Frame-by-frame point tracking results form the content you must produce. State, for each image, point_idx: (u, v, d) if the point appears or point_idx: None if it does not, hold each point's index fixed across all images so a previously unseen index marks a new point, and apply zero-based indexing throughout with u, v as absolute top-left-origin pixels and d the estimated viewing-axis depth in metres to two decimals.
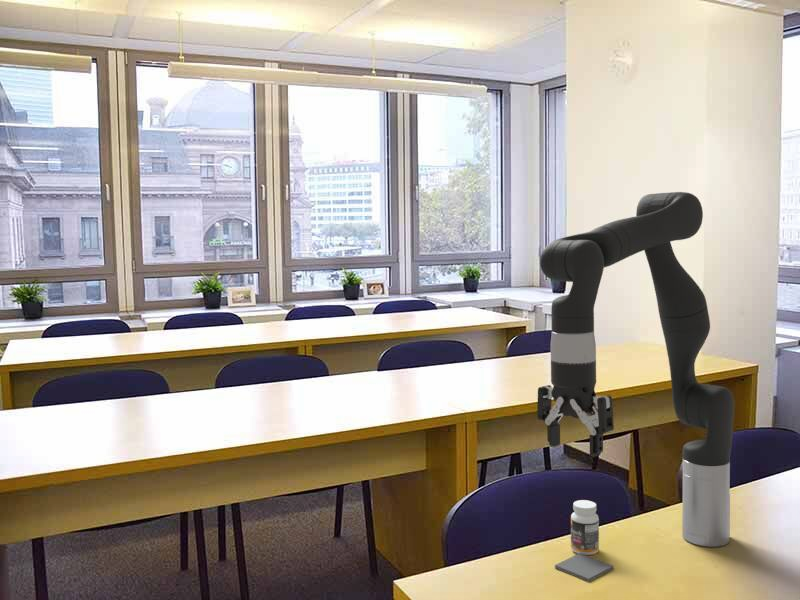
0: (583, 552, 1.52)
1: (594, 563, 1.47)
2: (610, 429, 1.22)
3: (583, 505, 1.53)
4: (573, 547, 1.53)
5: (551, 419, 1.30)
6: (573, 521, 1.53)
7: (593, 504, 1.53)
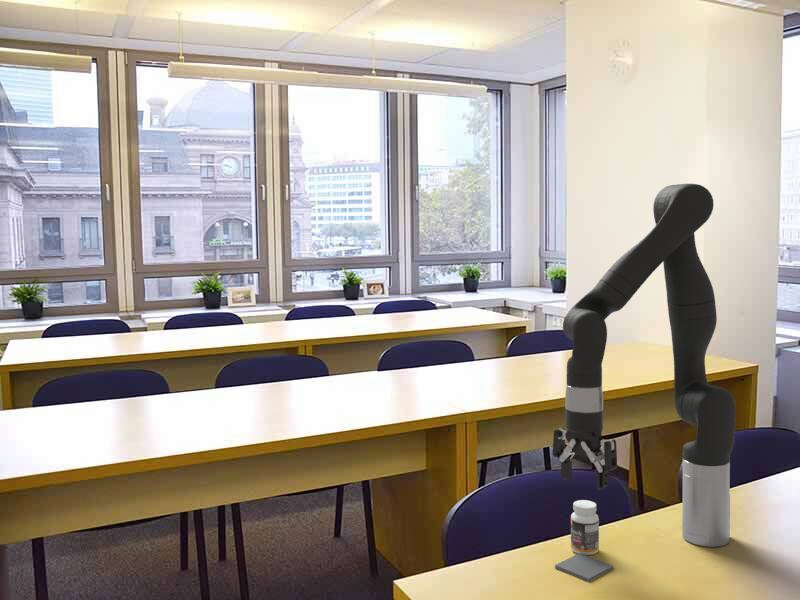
0: (583, 552, 1.52)
1: (594, 563, 1.47)
2: (614, 467, 1.48)
3: (583, 505, 1.53)
4: (573, 547, 1.53)
5: (564, 457, 1.55)
6: (573, 521, 1.53)
7: (593, 504, 1.53)
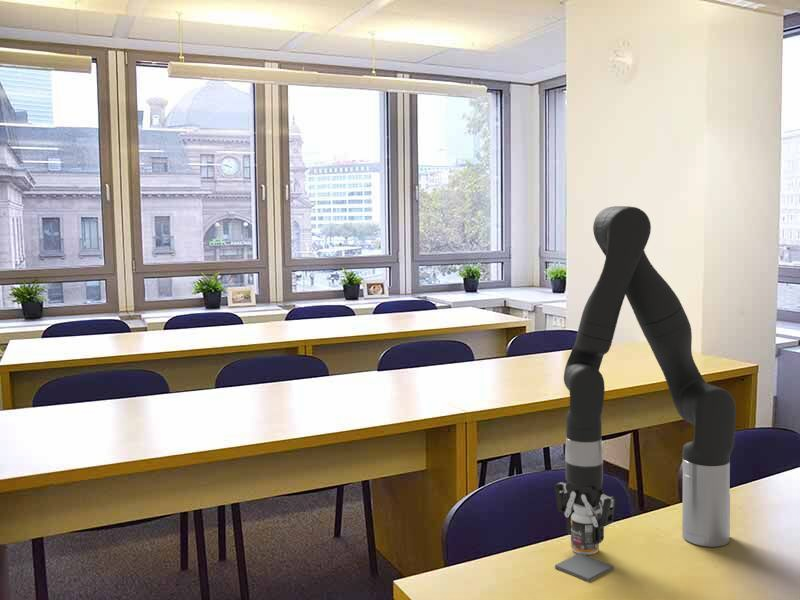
0: (583, 552, 1.52)
1: (594, 563, 1.47)
2: (609, 523, 1.50)
3: None
4: (573, 546, 1.53)
5: (569, 513, 1.55)
6: (572, 521, 1.53)
7: None
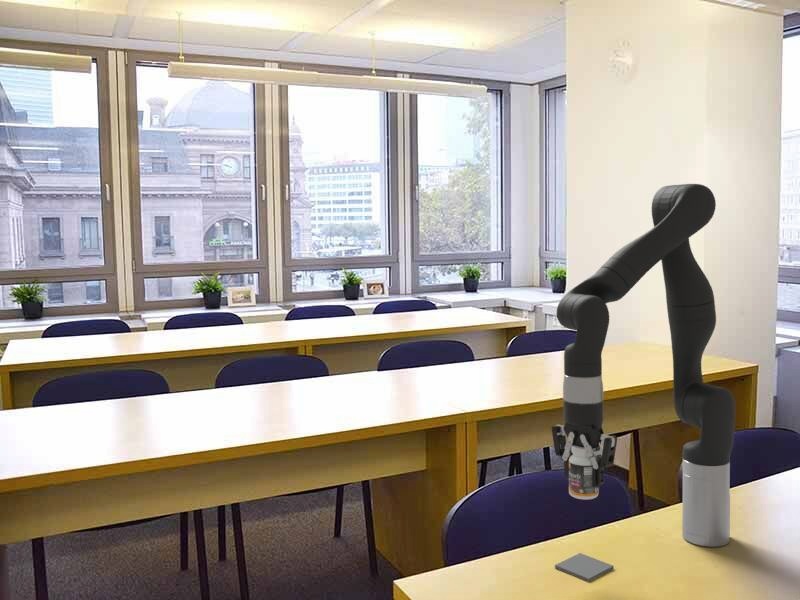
0: (582, 497, 1.42)
1: (594, 563, 1.47)
2: (610, 464, 1.40)
3: (582, 447, 1.43)
4: (572, 491, 1.44)
5: (568, 455, 1.46)
6: (571, 464, 1.43)
7: None
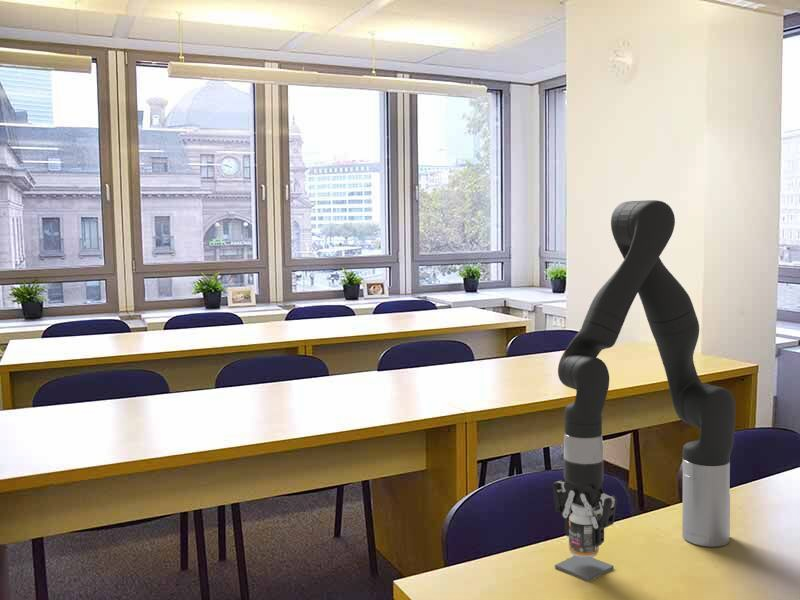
0: (582, 555, 1.43)
1: (594, 563, 1.47)
2: (610, 524, 1.41)
3: None
4: (572, 549, 1.45)
5: (568, 513, 1.47)
6: (571, 522, 1.44)
7: None
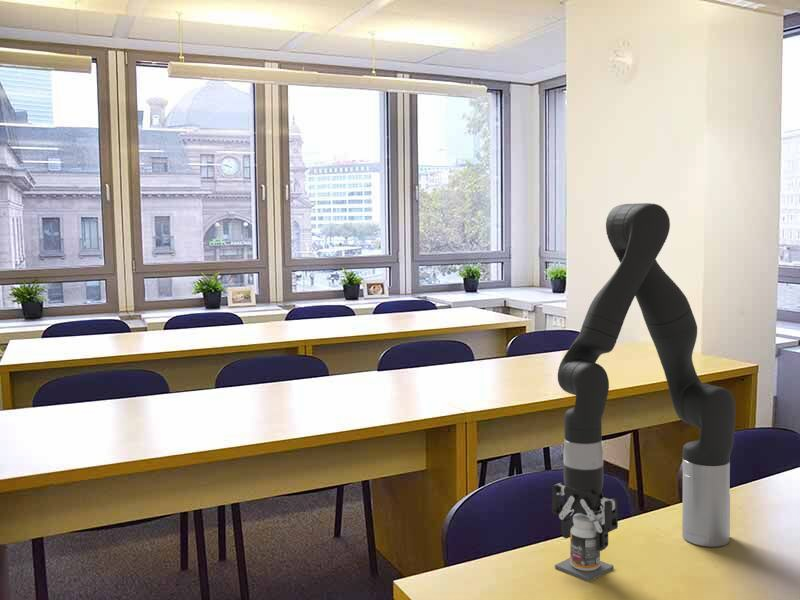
0: (583, 568, 1.43)
1: None
2: (614, 528, 1.40)
3: (584, 518, 1.44)
4: (573, 562, 1.45)
5: (564, 515, 1.47)
6: (572, 535, 1.44)
7: None
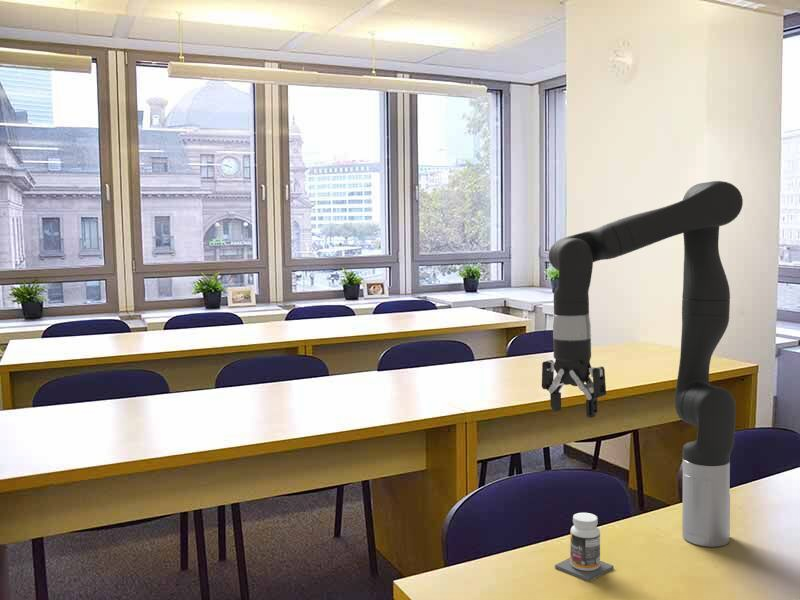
0: (583, 568, 1.43)
1: None
2: (603, 394, 1.48)
3: (584, 518, 1.44)
4: (573, 562, 1.45)
5: (553, 388, 1.55)
6: (572, 535, 1.44)
7: (594, 517, 1.45)
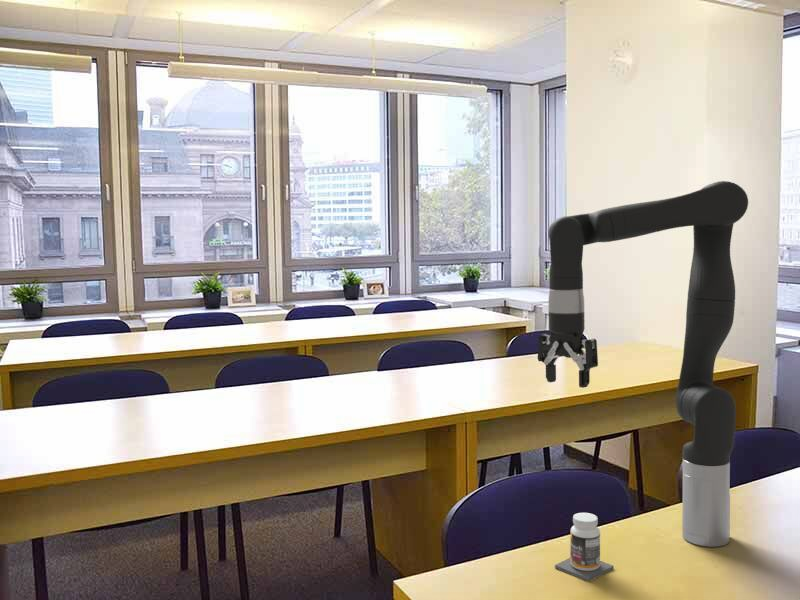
0: (583, 568, 1.43)
1: None
2: (595, 365, 1.55)
3: (584, 518, 1.44)
4: (573, 562, 1.45)
5: (549, 360, 1.63)
6: (572, 535, 1.44)
7: (594, 517, 1.45)
